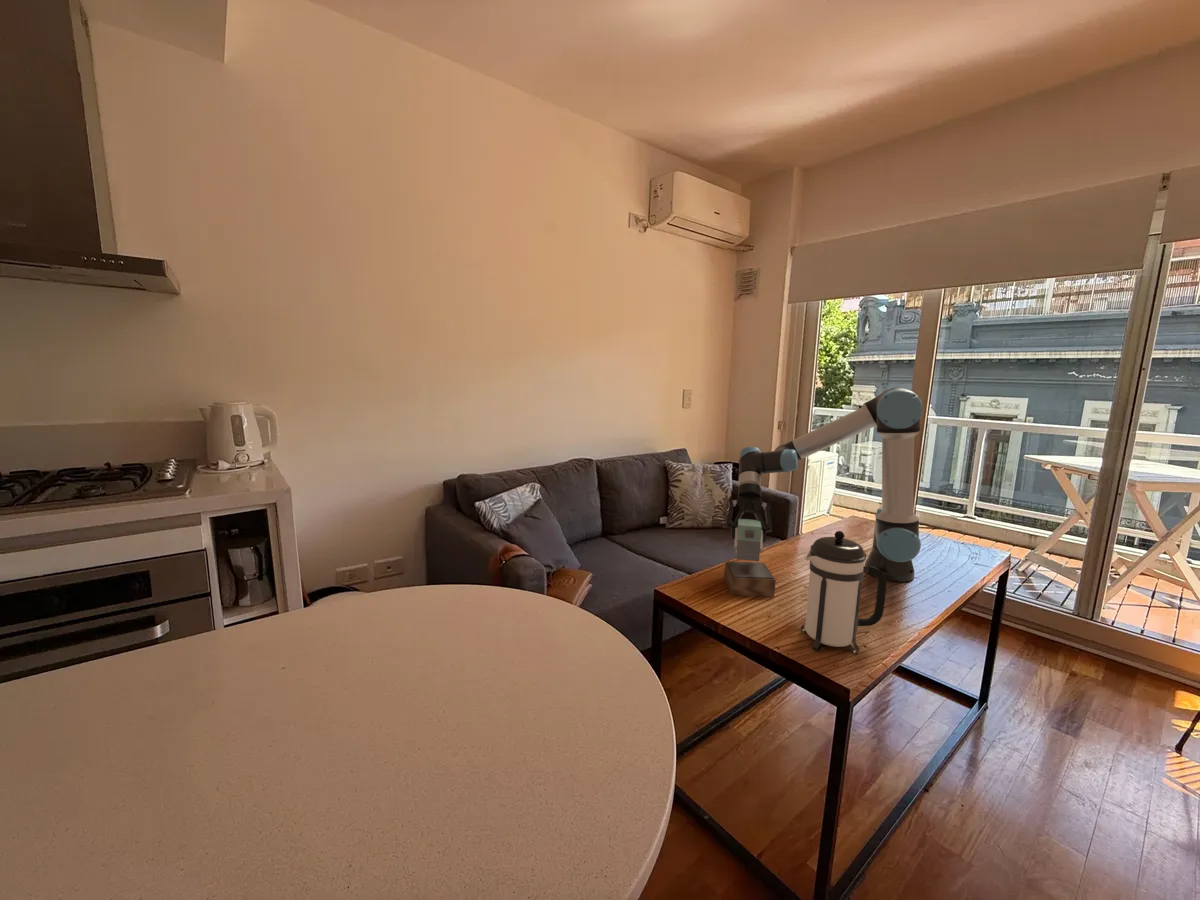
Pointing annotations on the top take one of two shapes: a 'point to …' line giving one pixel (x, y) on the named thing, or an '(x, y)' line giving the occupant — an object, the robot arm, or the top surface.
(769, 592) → the walnut stand
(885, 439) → the robot arm
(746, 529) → the lid
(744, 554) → the base
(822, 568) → the coffee press
